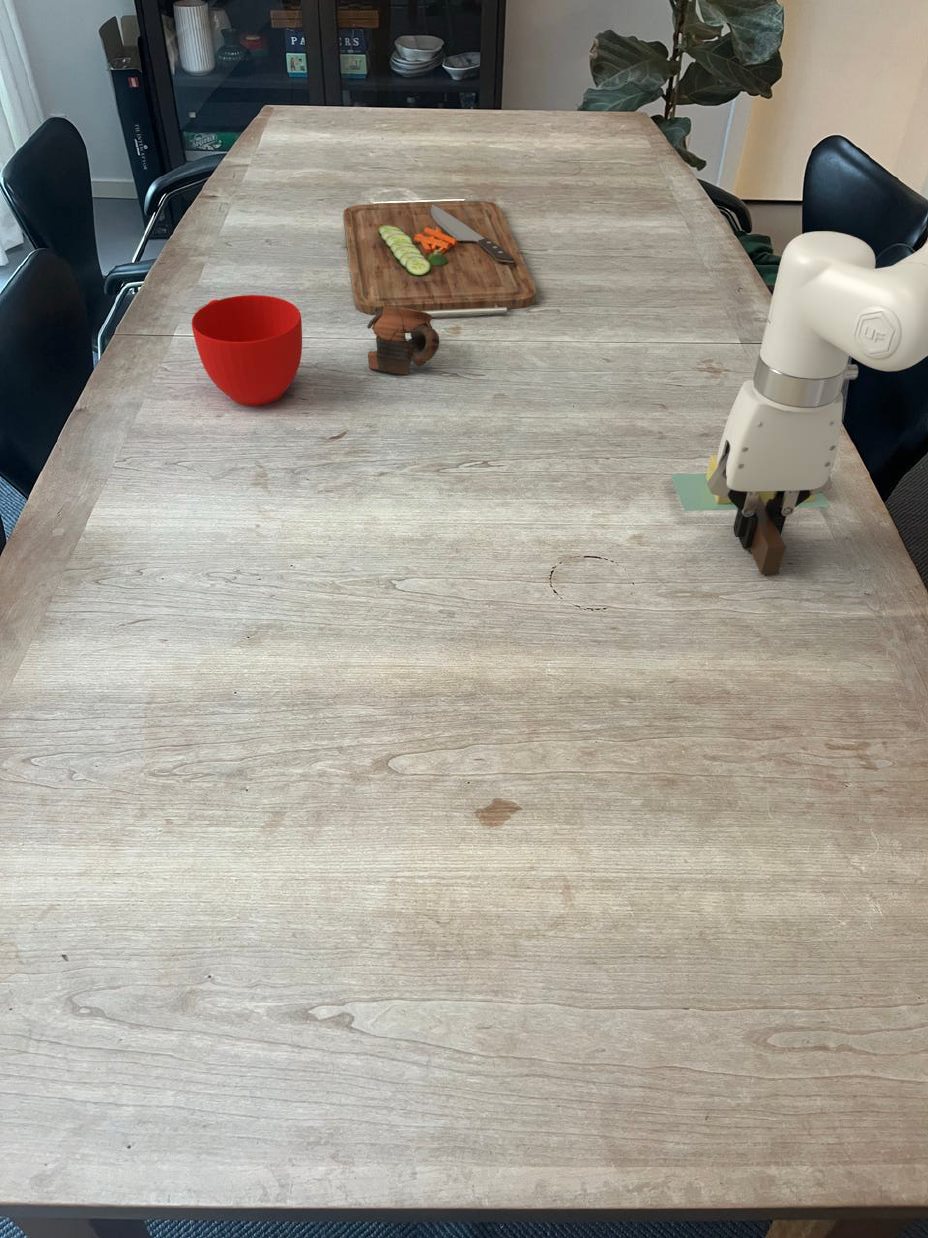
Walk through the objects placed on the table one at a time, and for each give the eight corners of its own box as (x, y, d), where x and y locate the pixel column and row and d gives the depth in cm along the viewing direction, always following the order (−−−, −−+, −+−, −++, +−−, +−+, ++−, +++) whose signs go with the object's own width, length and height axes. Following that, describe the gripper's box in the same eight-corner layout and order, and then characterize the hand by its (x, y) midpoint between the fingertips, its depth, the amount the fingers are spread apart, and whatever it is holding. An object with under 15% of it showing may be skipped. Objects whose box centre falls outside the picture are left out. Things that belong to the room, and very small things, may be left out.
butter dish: (807, 477, 113) (809, 470, 113) (828, 514, 108) (830, 506, 108) (668, 481, 113) (670, 473, 112) (682, 518, 107) (684, 510, 107)
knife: (728, 469, 113) (733, 443, 111) (778, 573, 98) (786, 546, 96) (712, 469, 113) (717, 443, 110) (760, 574, 98) (768, 546, 96)
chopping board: (342, 207, 174) (340, 189, 172) (493, 202, 177) (494, 184, 175) (356, 322, 141) (355, 301, 139) (543, 313, 144) (544, 293, 142)
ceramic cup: (263, 347, 135) (254, 275, 129) (327, 398, 125) (321, 323, 118) (174, 373, 129) (159, 300, 123) (233, 430, 119) (221, 353, 113)
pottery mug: (348, 367, 132) (355, 302, 131) (398, 375, 139) (405, 314, 138) (412, 374, 125) (420, 306, 123) (462, 382, 132) (470, 318, 130)
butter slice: (718, 477, 111) (723, 454, 109) (730, 503, 108) (736, 480, 106) (705, 478, 111) (710, 455, 109) (716, 504, 108) (722, 480, 106)
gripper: (867, 356, 93) (818, 516, 106) (701, 359, 92) (670, 520, 105) (898, 397, 88) (842, 561, 100) (721, 400, 87) (687, 565, 99)
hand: (755, 539), depth 102 cm, fingers closed on knife, 1 cm apart
